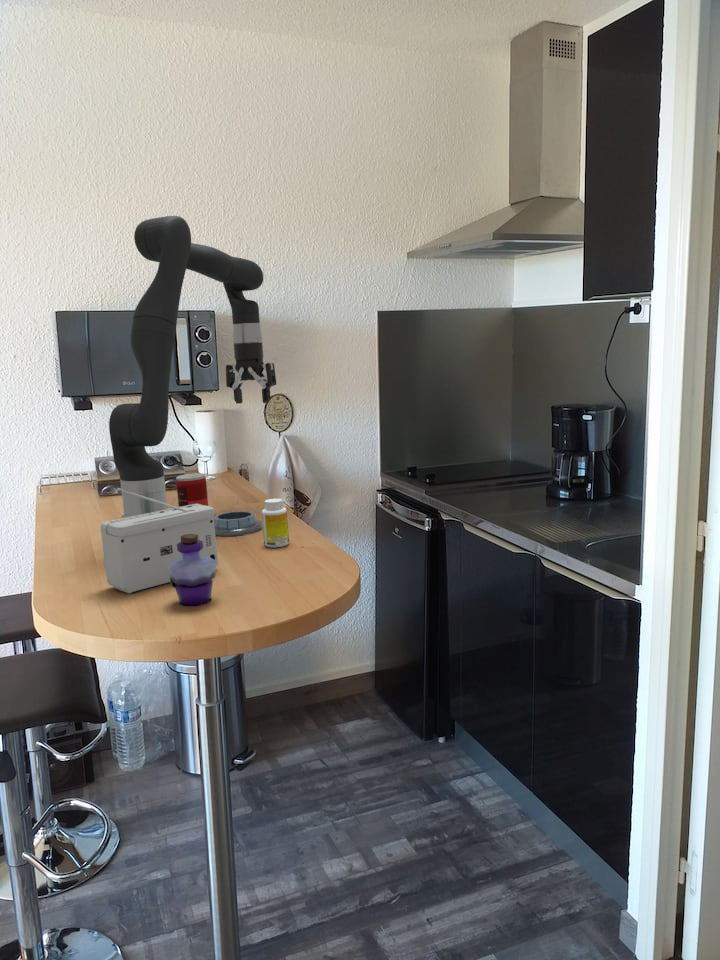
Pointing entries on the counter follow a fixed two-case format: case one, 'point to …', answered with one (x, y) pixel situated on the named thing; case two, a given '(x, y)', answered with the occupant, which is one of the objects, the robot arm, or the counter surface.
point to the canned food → (192, 489)
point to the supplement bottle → (275, 524)
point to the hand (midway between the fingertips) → (252, 403)
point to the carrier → (236, 523)
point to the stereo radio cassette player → (153, 544)
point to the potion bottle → (192, 572)
